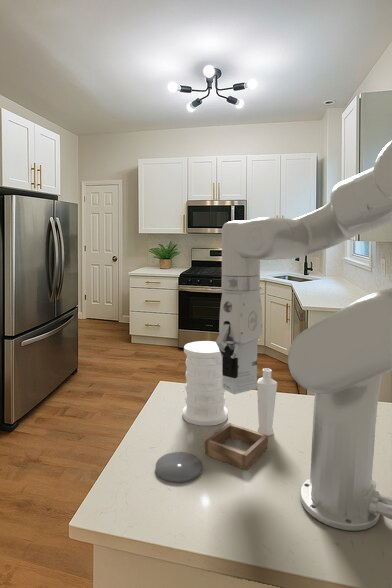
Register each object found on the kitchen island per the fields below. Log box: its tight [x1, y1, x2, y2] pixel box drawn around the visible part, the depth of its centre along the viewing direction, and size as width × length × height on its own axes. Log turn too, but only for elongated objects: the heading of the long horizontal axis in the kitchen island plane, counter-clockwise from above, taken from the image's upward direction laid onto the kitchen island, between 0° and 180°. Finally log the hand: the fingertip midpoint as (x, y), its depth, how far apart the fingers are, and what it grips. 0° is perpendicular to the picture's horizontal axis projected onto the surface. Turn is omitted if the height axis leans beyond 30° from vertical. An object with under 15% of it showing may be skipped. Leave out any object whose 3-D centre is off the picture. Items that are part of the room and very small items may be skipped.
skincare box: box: [222, 338, 258, 395], centre depth 77 cm, size 6×4×12 cm
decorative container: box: [182, 340, 229, 427], centre depth 96 cm, size 12×12×18 cm
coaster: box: [155, 451, 203, 484], centre depth 74 cm, size 9×9×1 cm
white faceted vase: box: [256, 368, 278, 437], centre depth 87 cm, size 5×4×15 cm
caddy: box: [204, 422, 269, 471], centre depth 80 cm, size 10×10×3 cm
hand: (239, 370), depth 77 cm, fingers closed on skincare box, 7 cm apart
